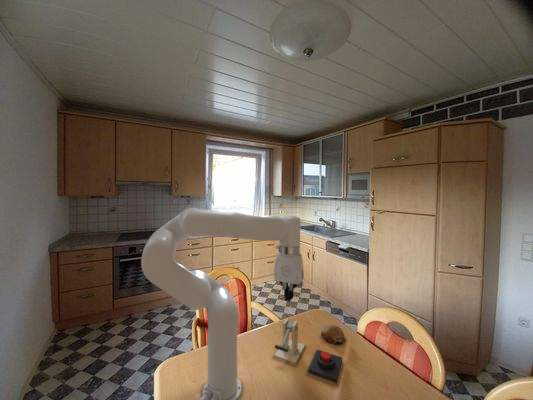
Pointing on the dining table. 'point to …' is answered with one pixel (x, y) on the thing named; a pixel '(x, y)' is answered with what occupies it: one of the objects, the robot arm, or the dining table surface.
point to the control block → (326, 367)
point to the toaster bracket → (291, 344)
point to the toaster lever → (285, 337)
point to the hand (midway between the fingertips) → (288, 299)
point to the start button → (325, 357)
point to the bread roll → (332, 334)
